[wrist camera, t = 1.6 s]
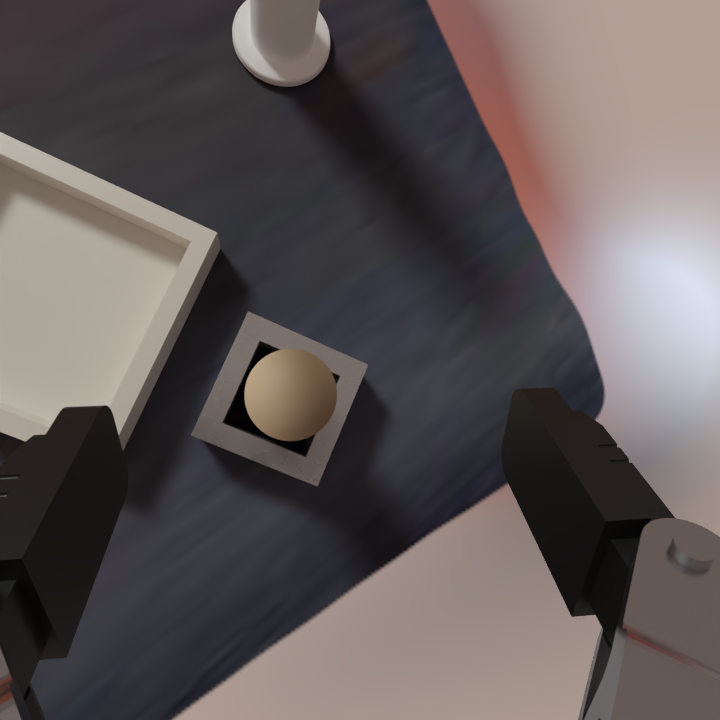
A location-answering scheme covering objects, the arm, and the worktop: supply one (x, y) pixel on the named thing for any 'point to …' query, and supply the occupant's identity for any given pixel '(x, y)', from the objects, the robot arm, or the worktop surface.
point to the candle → (281, 40)
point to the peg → (290, 394)
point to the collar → (259, 448)
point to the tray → (87, 291)
